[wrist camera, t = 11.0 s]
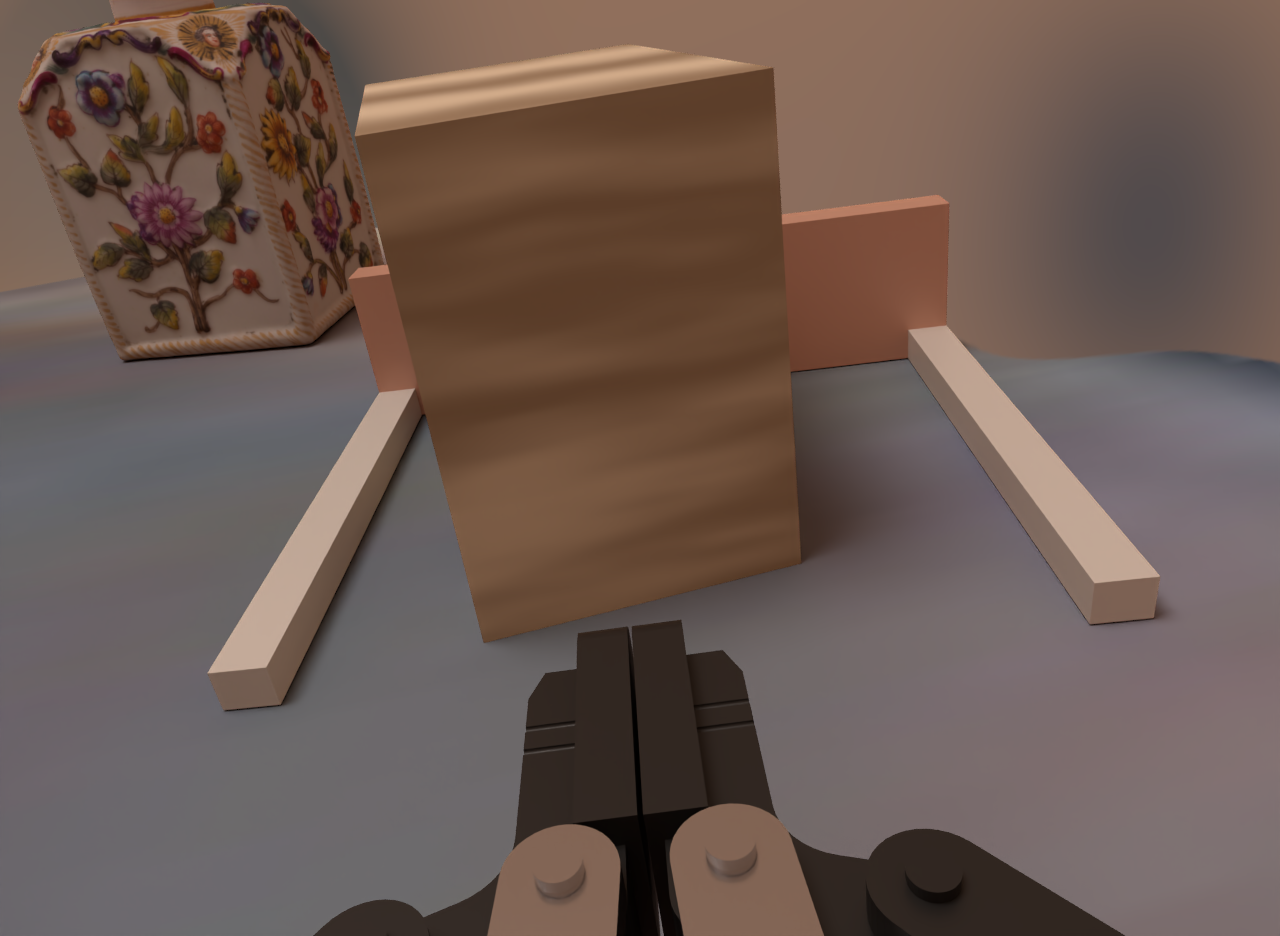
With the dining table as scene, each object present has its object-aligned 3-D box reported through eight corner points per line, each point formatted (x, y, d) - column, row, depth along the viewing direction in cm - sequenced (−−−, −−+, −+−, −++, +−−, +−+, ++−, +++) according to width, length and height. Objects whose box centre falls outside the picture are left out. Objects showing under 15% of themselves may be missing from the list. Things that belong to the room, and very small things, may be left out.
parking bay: (1153, 617, 23) (1189, 387, 20) (223, 710, 24) (135, 506, 21) (935, 340, 39) (938, 194, 37) (394, 404, 41) (358, 268, 38)
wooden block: (801, 564, 27) (773, 67, 21) (484, 644, 25) (354, 136, 19) (669, 388, 39) (627, 44, 33) (451, 435, 37) (365, 84, 31)
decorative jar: (393, 279, 59) (311, -45, 51) (318, 347, 49) (199, -44, 41) (218, 296, 61) (111, -15, 53) (111, 365, 51) (-43, -6, 43)
